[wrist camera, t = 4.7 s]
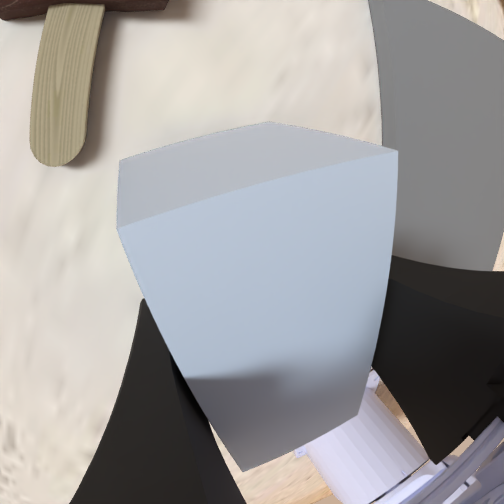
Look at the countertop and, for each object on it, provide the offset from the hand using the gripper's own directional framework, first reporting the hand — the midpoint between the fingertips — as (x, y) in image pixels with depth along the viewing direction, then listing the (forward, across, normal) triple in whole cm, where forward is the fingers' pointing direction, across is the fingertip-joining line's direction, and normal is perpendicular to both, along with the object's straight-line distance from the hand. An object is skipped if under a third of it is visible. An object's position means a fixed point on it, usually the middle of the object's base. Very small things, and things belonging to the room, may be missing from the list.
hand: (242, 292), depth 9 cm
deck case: (+2, 0, 0) cm, 2 cm away
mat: (+2, -17, +1) cm, 17 cm away
